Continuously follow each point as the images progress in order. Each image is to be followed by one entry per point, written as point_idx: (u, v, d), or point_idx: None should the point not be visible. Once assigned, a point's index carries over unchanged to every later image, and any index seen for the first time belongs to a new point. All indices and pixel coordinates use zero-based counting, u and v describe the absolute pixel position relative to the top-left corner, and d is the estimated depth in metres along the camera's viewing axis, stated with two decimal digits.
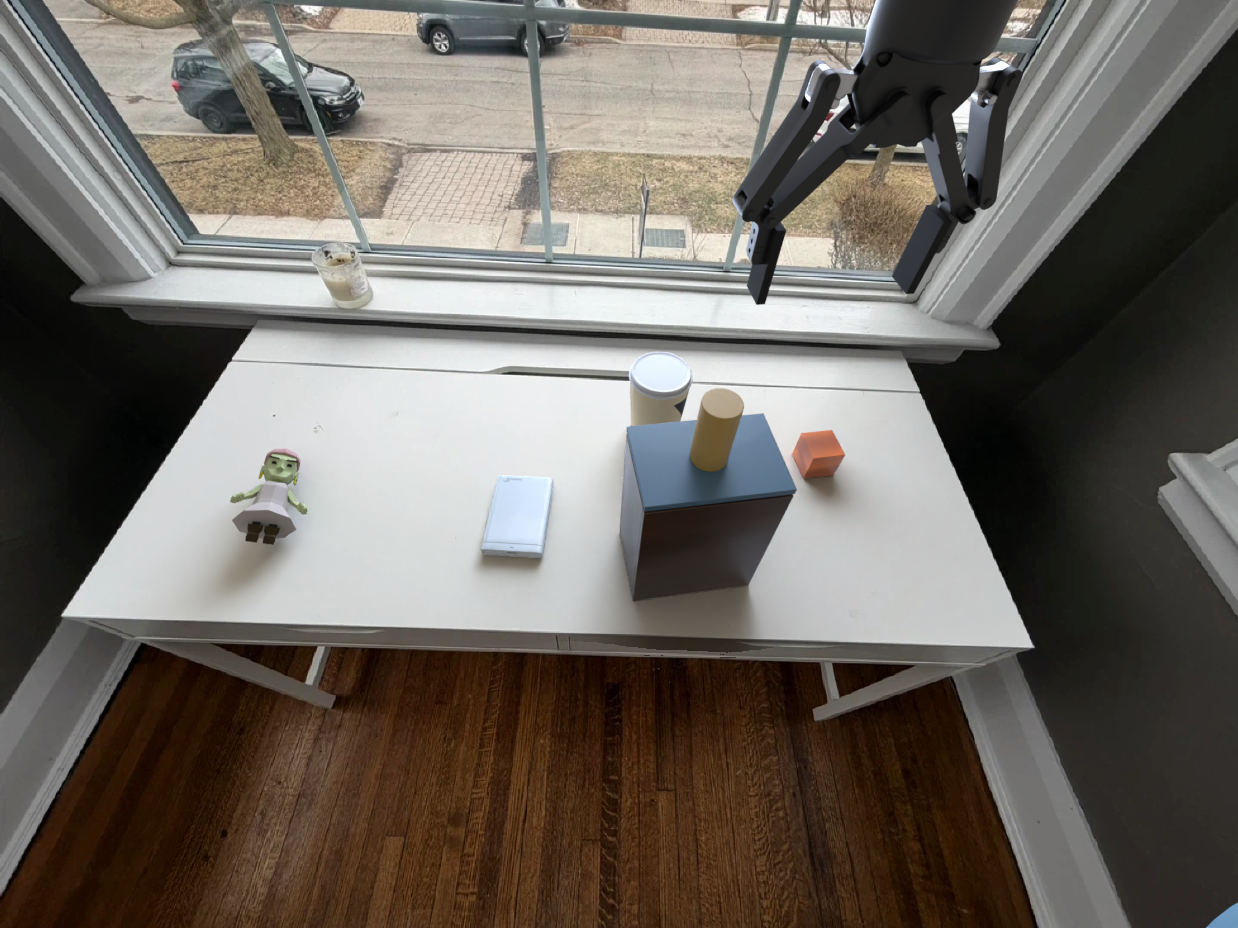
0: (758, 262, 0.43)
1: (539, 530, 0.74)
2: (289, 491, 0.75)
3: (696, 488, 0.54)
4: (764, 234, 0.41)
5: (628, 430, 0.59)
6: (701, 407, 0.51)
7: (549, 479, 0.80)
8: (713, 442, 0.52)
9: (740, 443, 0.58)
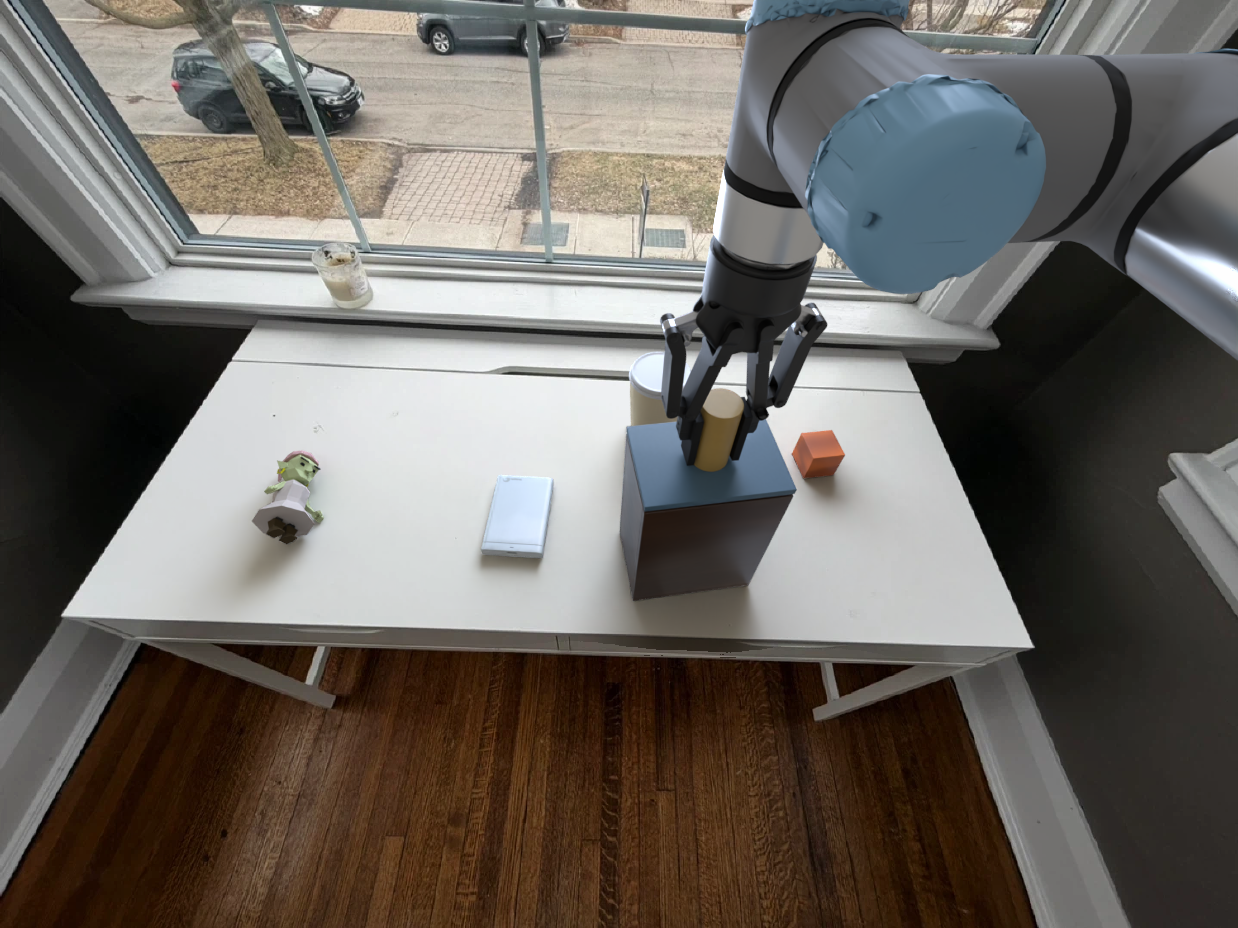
0: (685, 438, 0.53)
1: (539, 530, 0.74)
2: None
3: (695, 488, 0.54)
4: (687, 422, 0.51)
5: (628, 430, 0.59)
6: None
7: (549, 479, 0.80)
8: (713, 442, 0.52)
9: None
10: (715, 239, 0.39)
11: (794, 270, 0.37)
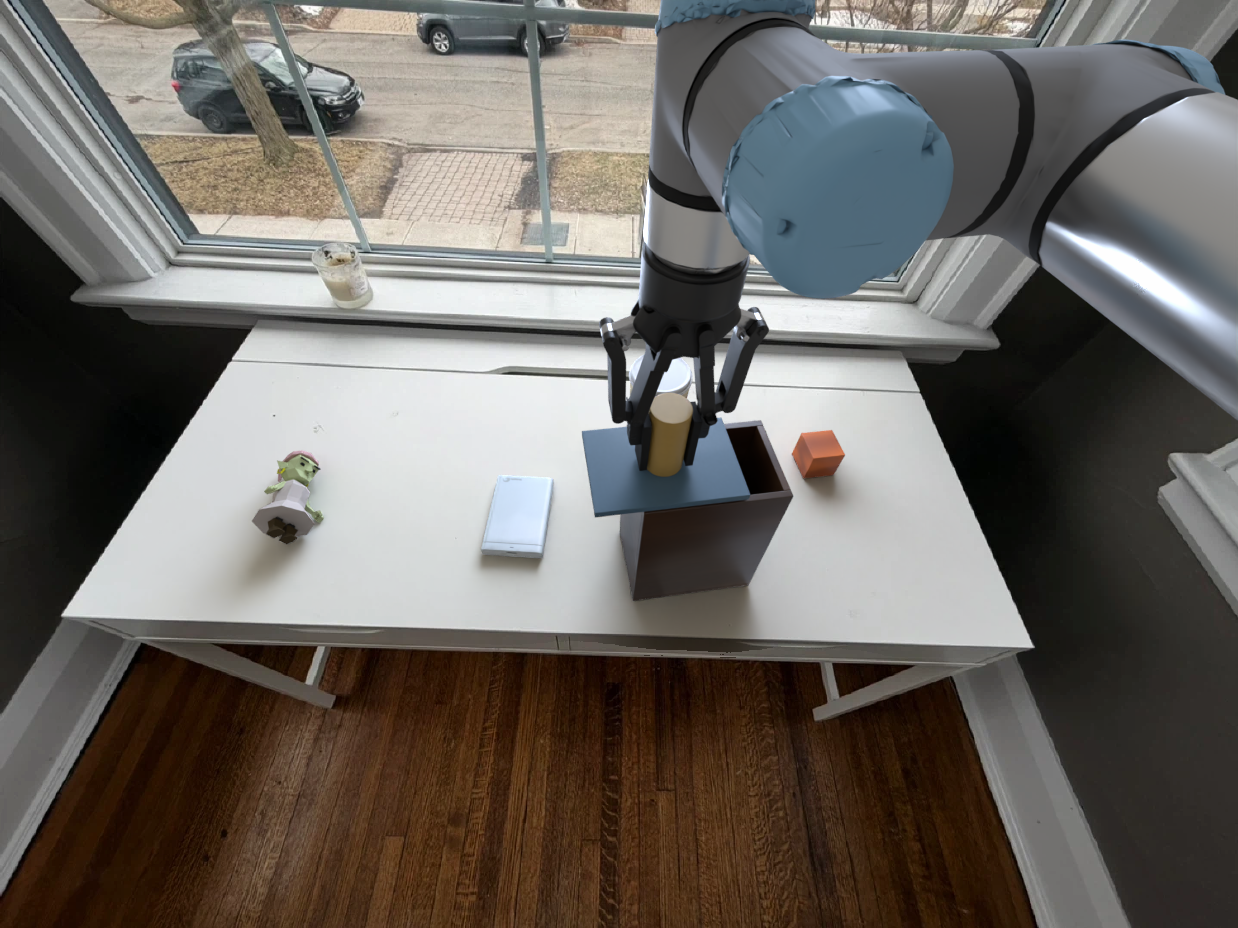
0: (635, 443, 0.52)
1: (539, 530, 0.74)
2: None
3: (647, 494, 0.54)
4: (636, 427, 0.50)
5: (583, 434, 0.58)
6: (649, 412, 0.50)
7: (549, 479, 0.80)
8: (663, 447, 0.52)
9: (696, 448, 0.58)
10: None
11: (724, 274, 0.36)
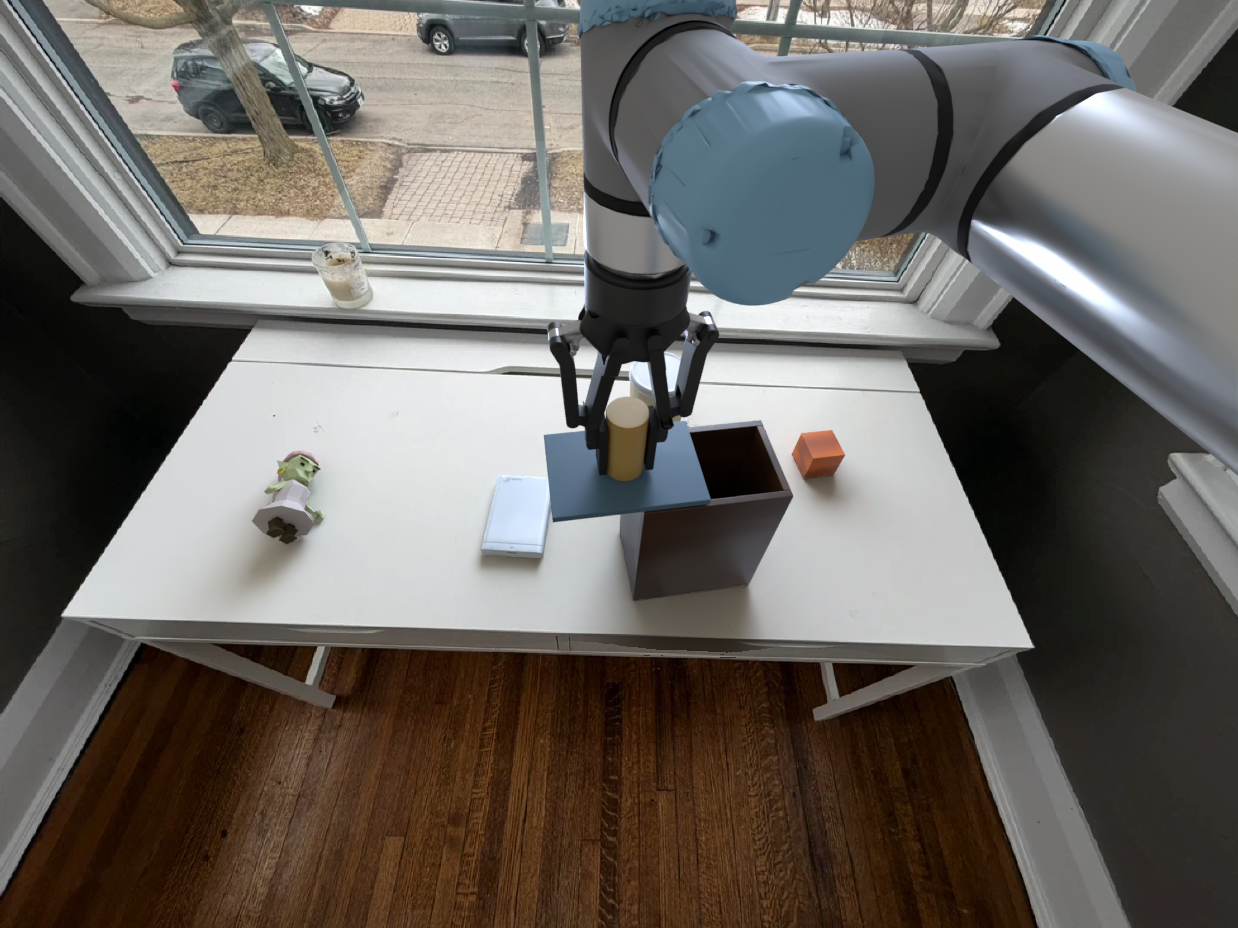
0: (593, 448, 0.52)
1: (539, 530, 0.74)
2: None
3: (607, 498, 0.53)
4: (592, 432, 0.50)
5: (545, 438, 0.58)
6: (606, 416, 0.50)
7: None
8: (621, 452, 0.51)
9: (658, 452, 0.57)
10: None
11: (664, 279, 0.35)
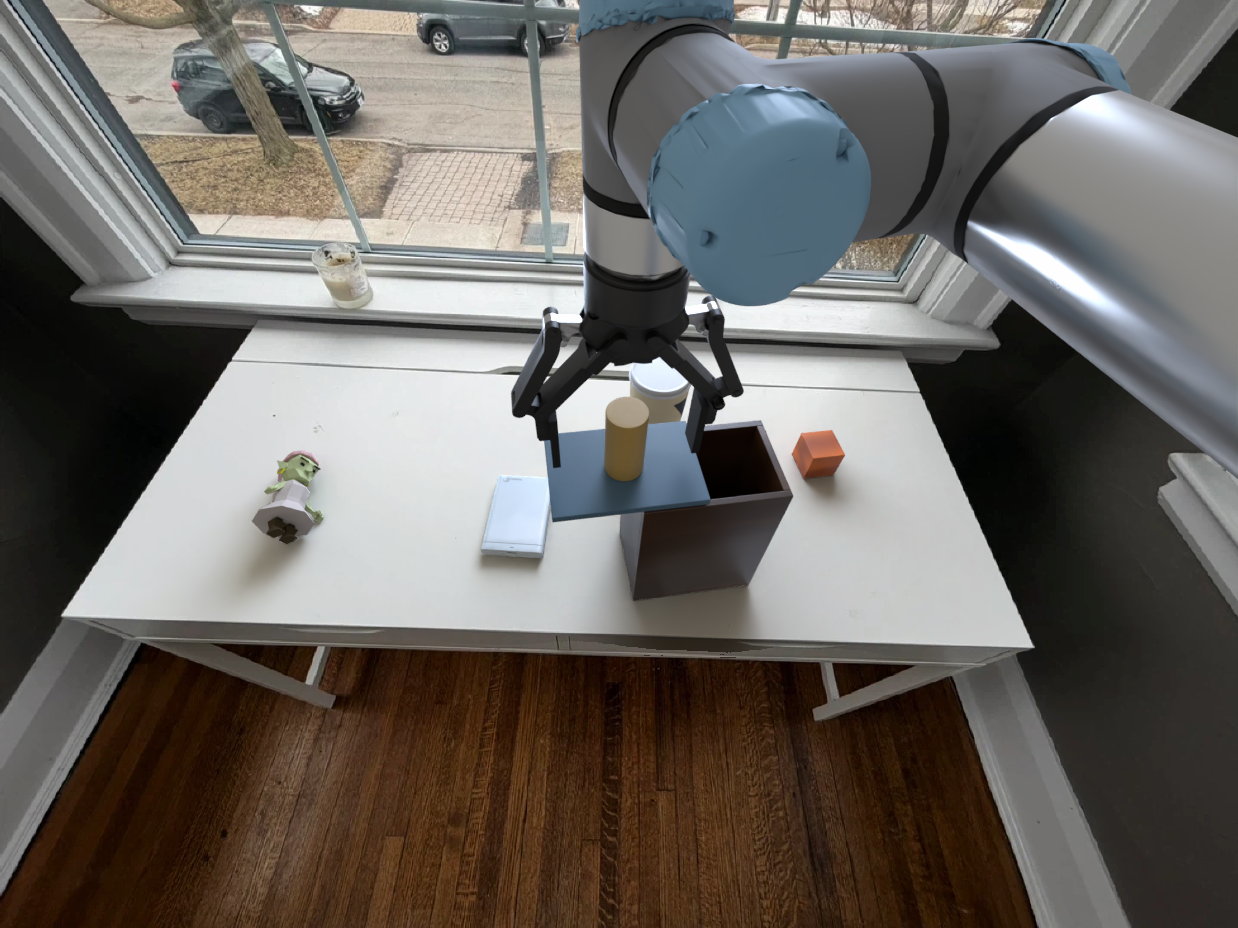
0: (544, 439, 0.50)
1: (539, 530, 0.74)
2: None
3: (606, 498, 0.53)
4: (541, 422, 0.48)
5: None
6: (605, 416, 0.50)
7: None
8: (621, 452, 0.51)
9: (658, 452, 0.57)
10: None
11: (663, 281, 0.36)
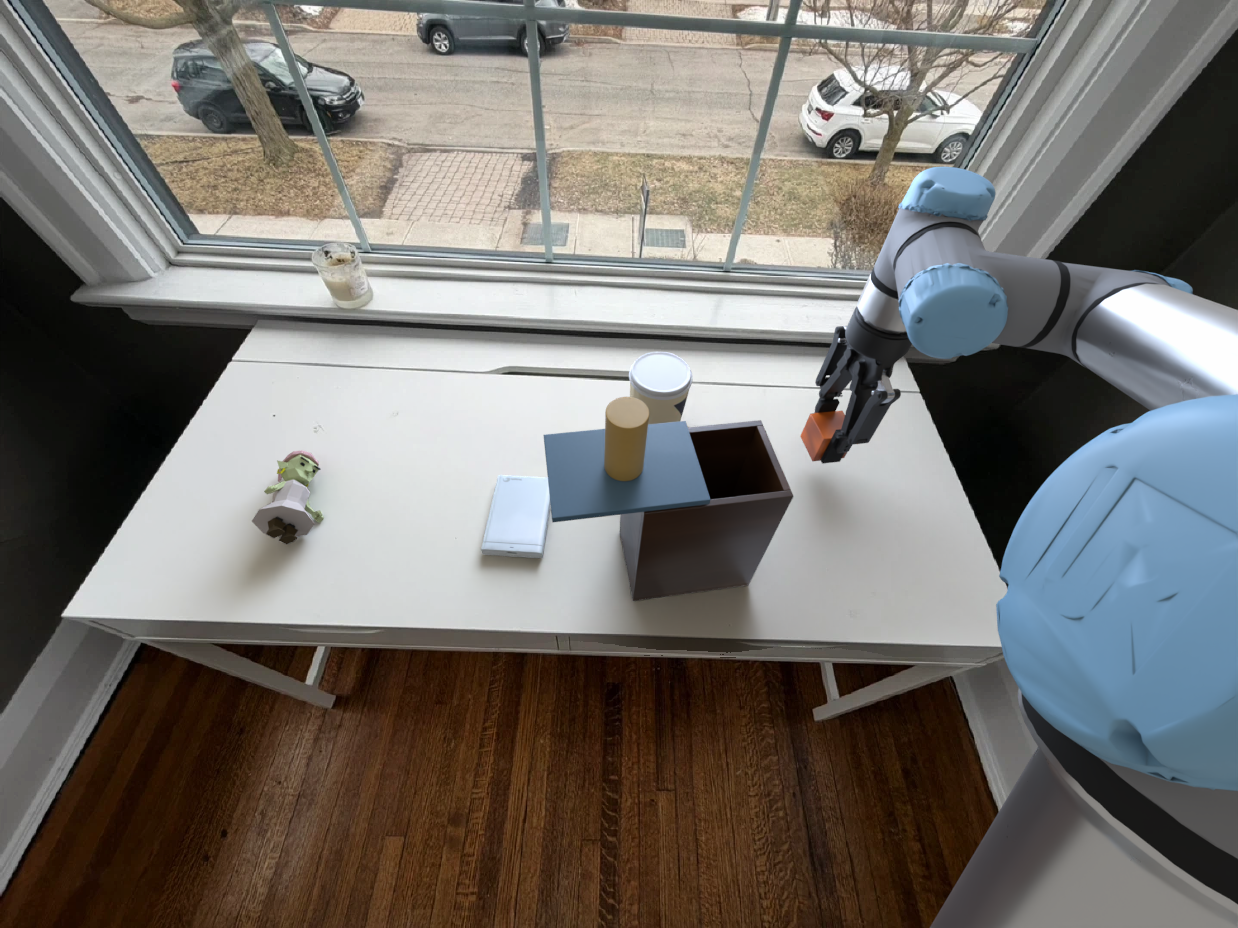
0: None
1: (539, 530, 0.74)
2: None
3: (606, 498, 0.53)
4: (821, 399, 0.79)
5: (544, 438, 0.58)
6: (605, 416, 0.50)
7: None
8: (621, 452, 0.51)
9: (658, 452, 0.57)
10: None
11: (866, 325, 0.62)
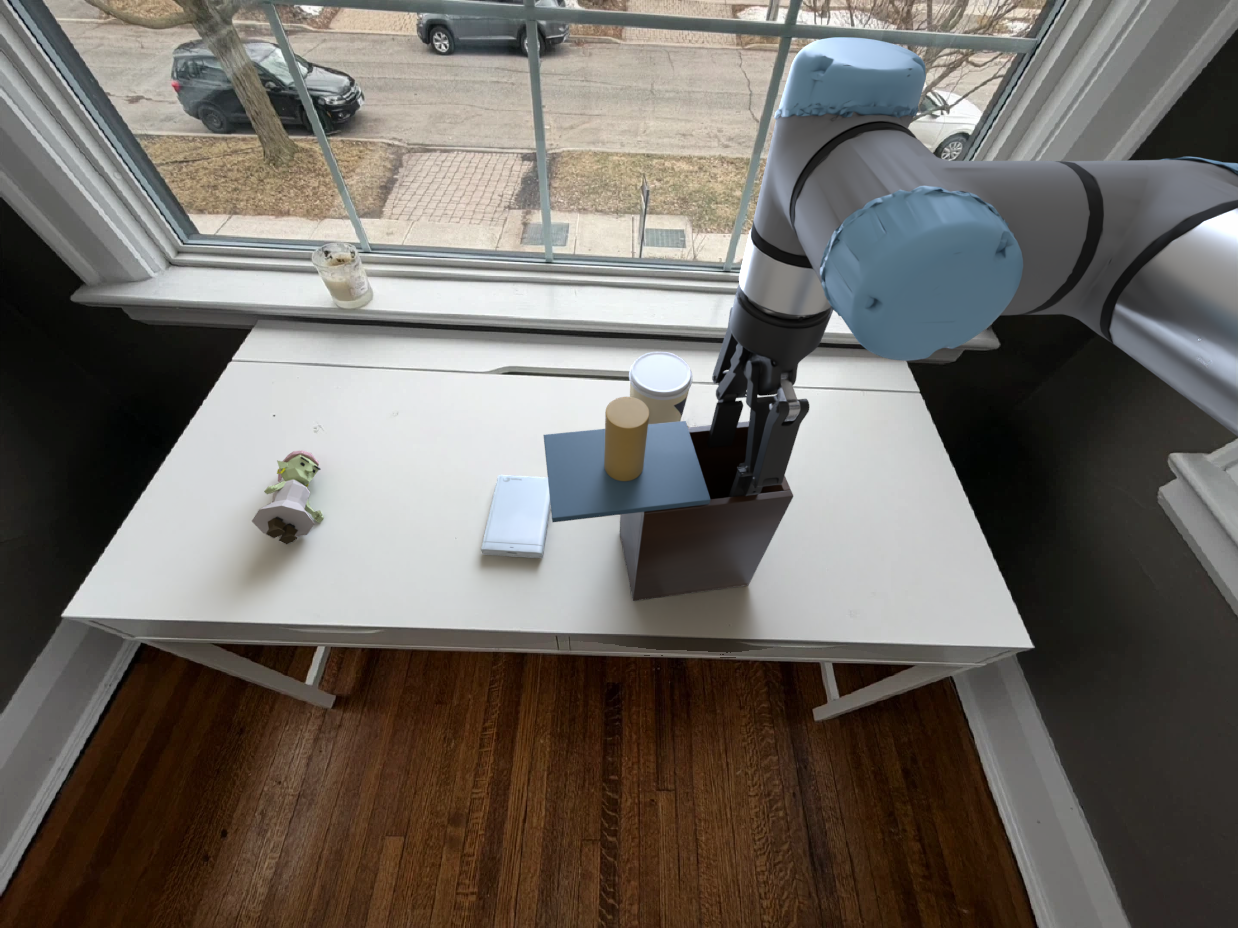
0: None
1: (539, 530, 0.74)
2: None
3: (606, 498, 0.53)
4: (719, 402, 0.58)
5: (544, 438, 0.58)
6: (605, 416, 0.50)
7: None
8: (621, 452, 0.51)
9: (658, 452, 0.57)
10: None
11: (750, 306, 0.41)
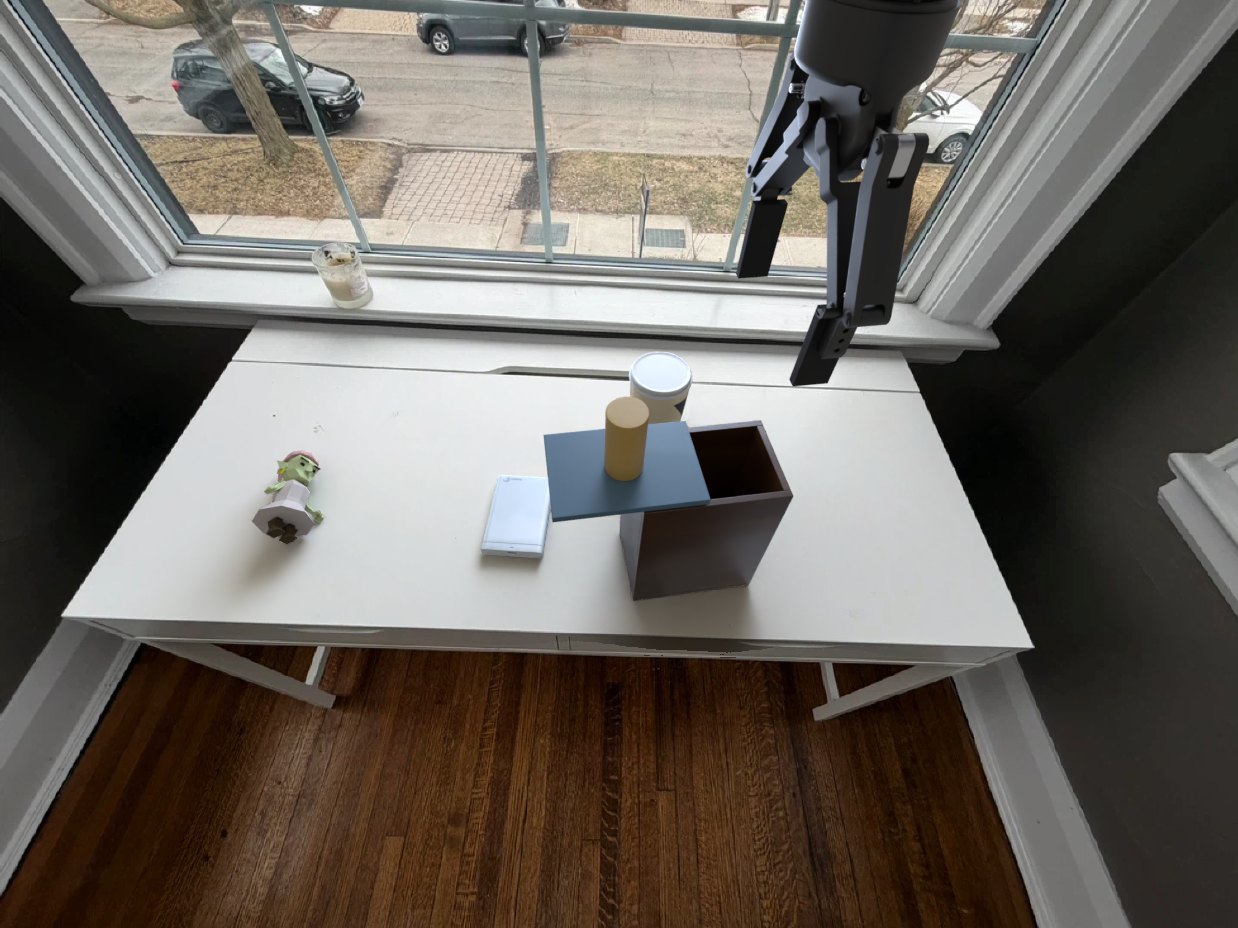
0: None
1: (539, 530, 0.74)
2: None
3: (606, 498, 0.53)
4: None
5: (544, 438, 0.58)
6: (605, 416, 0.50)
7: None
8: (621, 452, 0.51)
9: (658, 452, 0.57)
10: None
11: None
